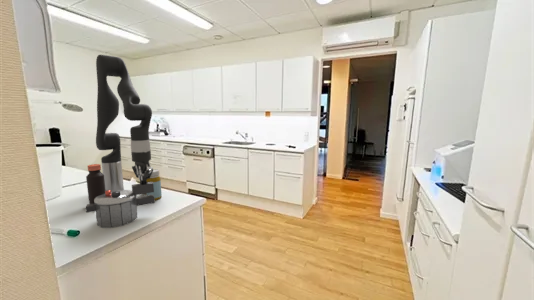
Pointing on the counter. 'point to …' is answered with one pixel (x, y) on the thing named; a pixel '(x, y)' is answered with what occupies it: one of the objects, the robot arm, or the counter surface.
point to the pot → (118, 212)
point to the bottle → (155, 184)
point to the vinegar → (95, 182)
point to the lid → (123, 194)
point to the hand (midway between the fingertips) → (143, 187)
